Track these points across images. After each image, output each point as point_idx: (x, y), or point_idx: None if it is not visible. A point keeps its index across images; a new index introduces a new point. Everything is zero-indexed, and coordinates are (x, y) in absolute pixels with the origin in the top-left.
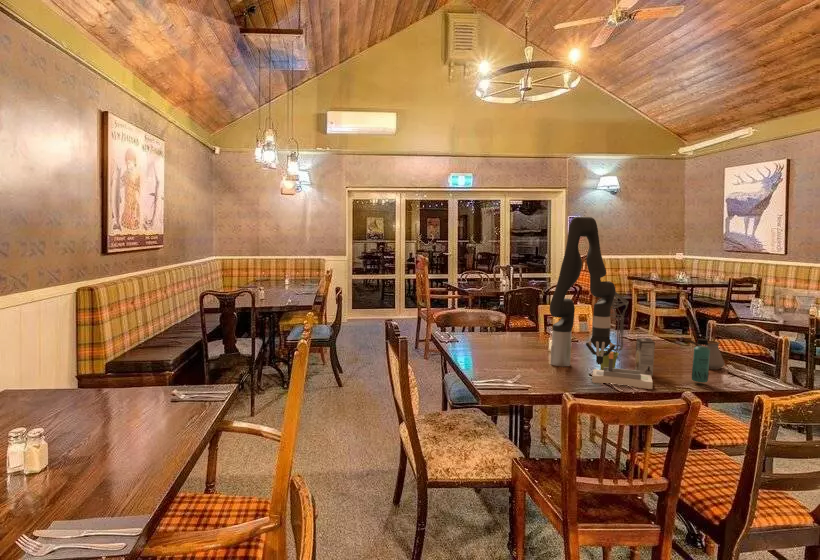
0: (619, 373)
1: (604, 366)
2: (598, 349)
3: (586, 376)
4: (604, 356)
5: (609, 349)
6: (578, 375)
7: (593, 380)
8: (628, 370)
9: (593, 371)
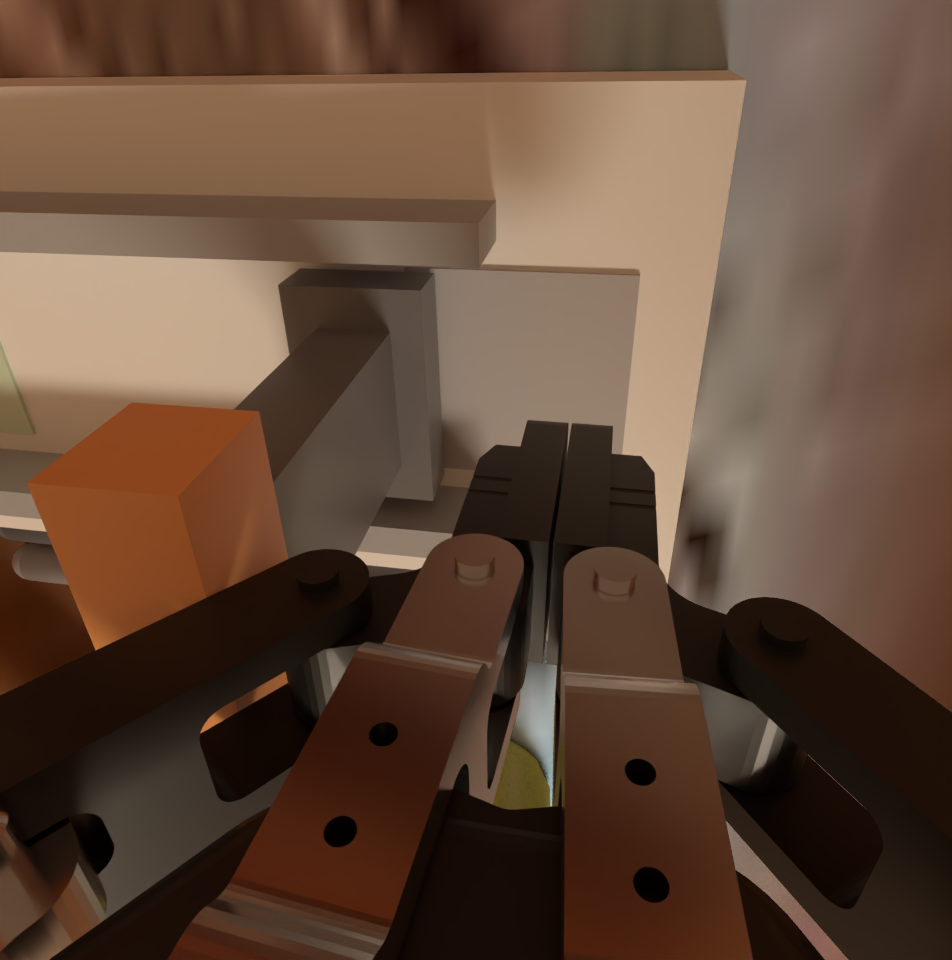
0: (157, 211)
1: (498, 786)
2: (593, 725)
3: (778, 455)
4: None
5: (105, 722)
6: (915, 472)
7: (705, 73)
8: None
9: (680, 456)
